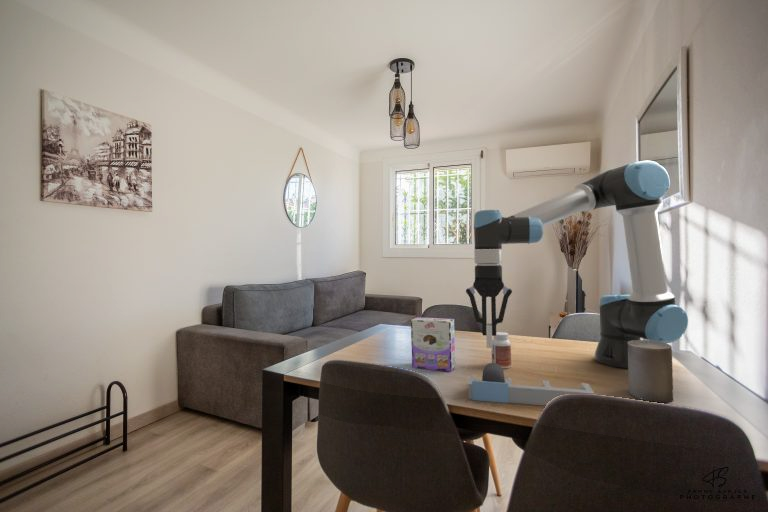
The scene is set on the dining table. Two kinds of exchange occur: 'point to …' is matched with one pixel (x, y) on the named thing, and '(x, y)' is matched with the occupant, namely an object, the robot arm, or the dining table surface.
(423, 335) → the candy box
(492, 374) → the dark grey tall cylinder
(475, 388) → the duct comb
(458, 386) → the dining table surface
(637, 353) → the pillar candle
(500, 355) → the pill bottle
